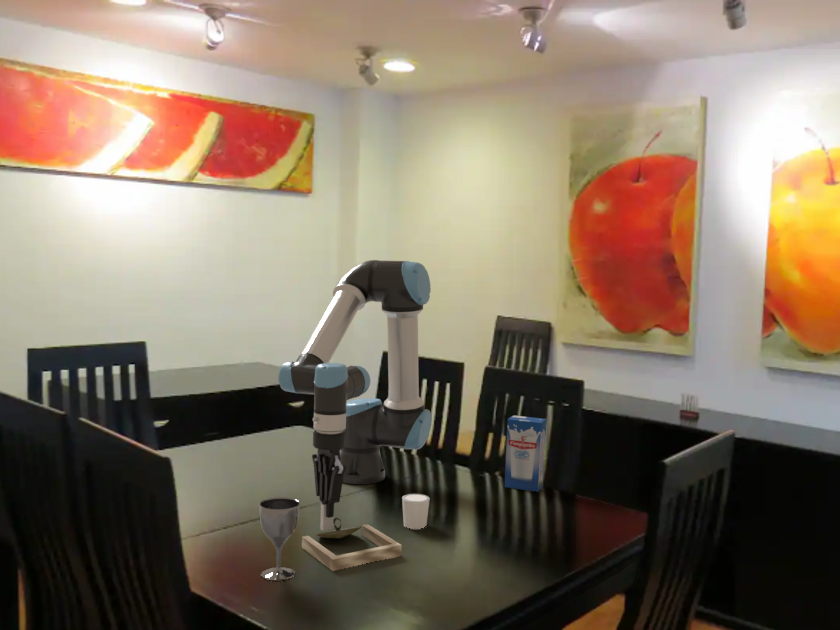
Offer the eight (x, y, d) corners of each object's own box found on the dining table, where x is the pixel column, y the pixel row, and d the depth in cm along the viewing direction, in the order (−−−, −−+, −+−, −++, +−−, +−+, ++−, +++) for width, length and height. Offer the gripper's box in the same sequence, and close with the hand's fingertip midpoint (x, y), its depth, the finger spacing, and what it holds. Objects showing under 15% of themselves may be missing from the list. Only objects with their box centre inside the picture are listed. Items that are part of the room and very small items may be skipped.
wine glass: (260, 566, 165) (262, 497, 164) (299, 566, 166) (300, 497, 165) (256, 582, 157) (257, 509, 156) (296, 582, 158) (297, 509, 157)
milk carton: (504, 487, 228) (507, 419, 226) (510, 481, 234) (513, 415, 232) (538, 491, 224) (541, 422, 223) (543, 486, 230) (546, 418, 228)
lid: (327, 551, 175) (328, 529, 175) (308, 536, 183) (308, 515, 183) (368, 542, 181) (369, 521, 180) (348, 529, 189) (348, 509, 189)
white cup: (425, 531, 189) (426, 503, 189) (398, 528, 191) (399, 500, 190) (431, 522, 196) (432, 494, 196) (404, 519, 198) (405, 492, 197)
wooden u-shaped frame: (367, 534, 186) (367, 524, 186) (401, 556, 174) (401, 545, 173) (301, 547, 176) (302, 536, 176) (332, 571, 164) (333, 559, 164)
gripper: (302, 426, 186) (300, 523, 188) (327, 437, 175) (324, 540, 177) (331, 423, 190) (328, 518, 192) (357, 434, 179) (354, 535, 181)
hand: (326, 529), depth 184 cm, fingers closed
